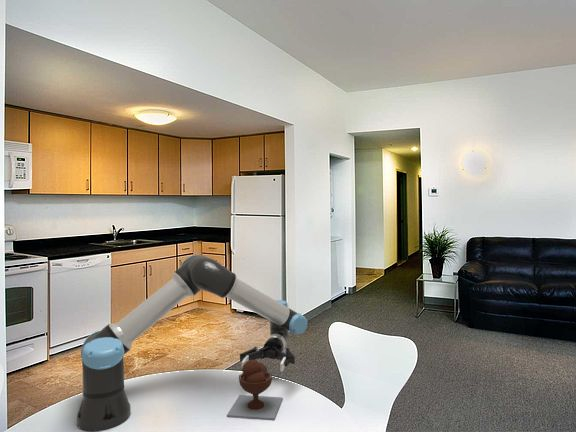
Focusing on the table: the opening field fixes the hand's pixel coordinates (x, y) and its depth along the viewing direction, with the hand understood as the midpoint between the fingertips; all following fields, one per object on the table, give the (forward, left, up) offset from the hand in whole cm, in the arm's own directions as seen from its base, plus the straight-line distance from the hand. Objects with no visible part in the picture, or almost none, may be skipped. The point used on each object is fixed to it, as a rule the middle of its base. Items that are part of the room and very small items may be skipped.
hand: (261, 366), depth 138 cm
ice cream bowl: (0, -8, -10) cm, 13 cm away
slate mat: (0, -8, -10) cm, 13 cm away
